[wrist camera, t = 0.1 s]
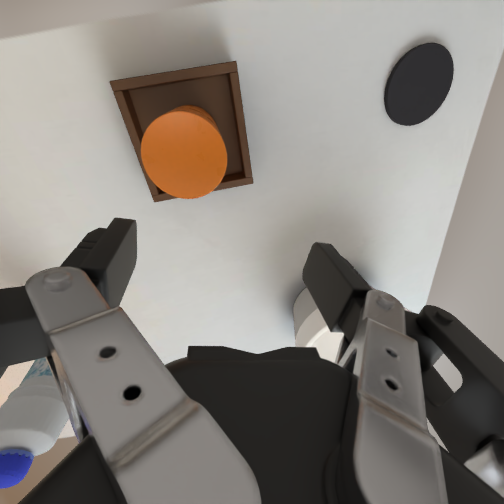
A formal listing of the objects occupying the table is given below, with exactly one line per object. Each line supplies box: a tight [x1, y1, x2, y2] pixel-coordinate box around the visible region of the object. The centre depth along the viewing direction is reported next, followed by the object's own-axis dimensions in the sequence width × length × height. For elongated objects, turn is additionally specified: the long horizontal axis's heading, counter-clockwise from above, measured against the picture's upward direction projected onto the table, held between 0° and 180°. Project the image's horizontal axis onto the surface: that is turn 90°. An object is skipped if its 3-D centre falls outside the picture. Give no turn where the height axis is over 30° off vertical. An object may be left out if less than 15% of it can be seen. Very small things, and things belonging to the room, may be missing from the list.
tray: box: [110, 61, 253, 202], centre depth 27 cm, size 12×12×3 cm
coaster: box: [384, 43, 454, 126], centre depth 30 cm, size 8×8×1 cm
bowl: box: [293, 285, 411, 363], centre depth 42 cm, size 19×19×11 cm
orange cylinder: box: [141, 105, 227, 199], centre depth 23 cm, size 6×6×12 cm
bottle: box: [0, 357, 69, 488], centre depth 31 cm, size 7×7×20 cm
